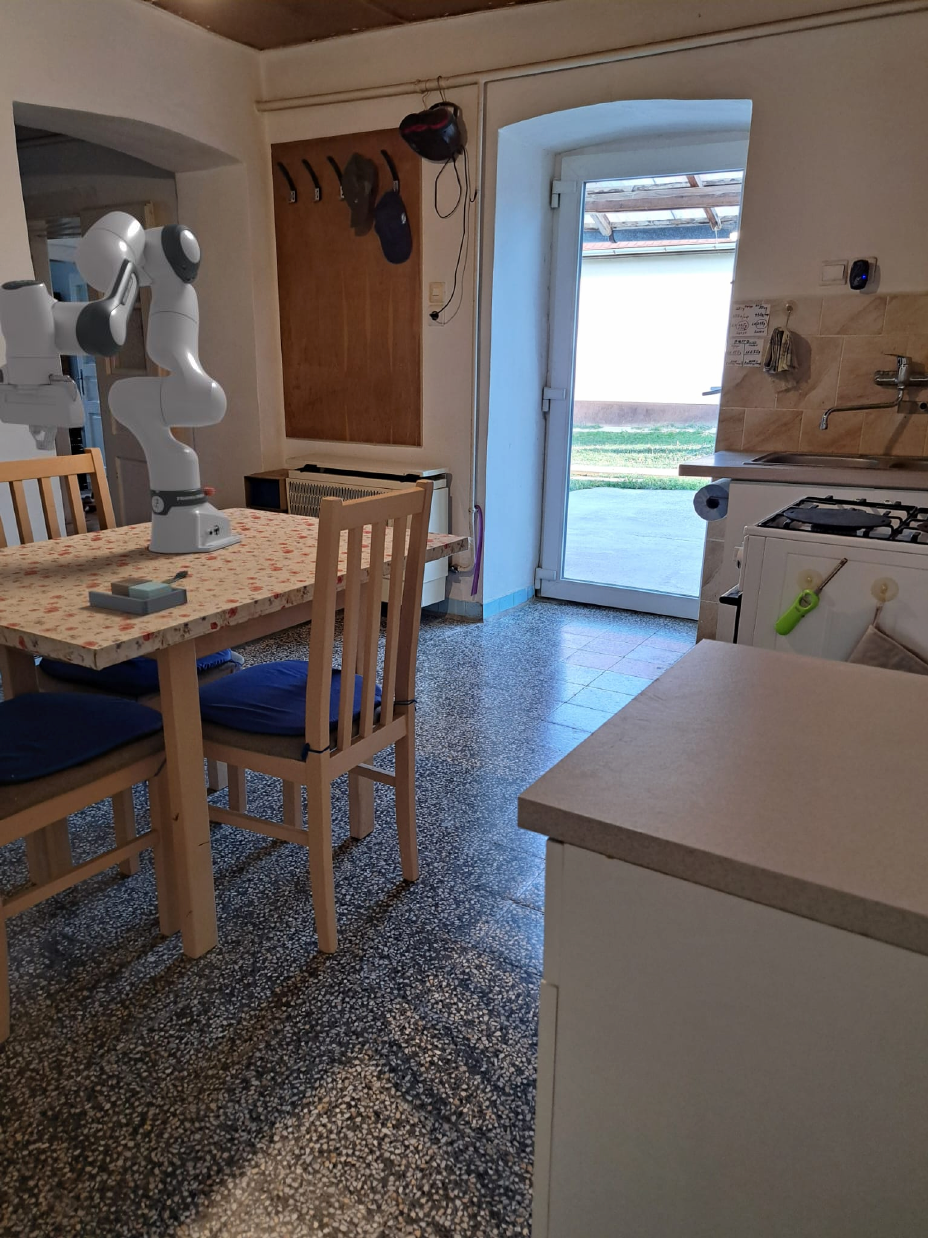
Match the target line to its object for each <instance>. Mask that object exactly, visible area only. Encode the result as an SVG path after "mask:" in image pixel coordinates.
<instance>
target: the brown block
mask: <svg viewBox="0 0 928 1238" xmlns="http://www.w3.org/2000/svg"><path fill="white" fill-rule="evenodd" d="M147 582H154V581H153V579H147V578H140V577H135V576H133V577H132V576H131V577H129V578H128V577H127V578H124V579H121V580H115V581H112V582H110V588H111V590H110V591H111V594H114V595H119V596H125V597H130V596H129V587H132V586H136V585H139V584H143V583H147Z"/></svg>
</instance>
